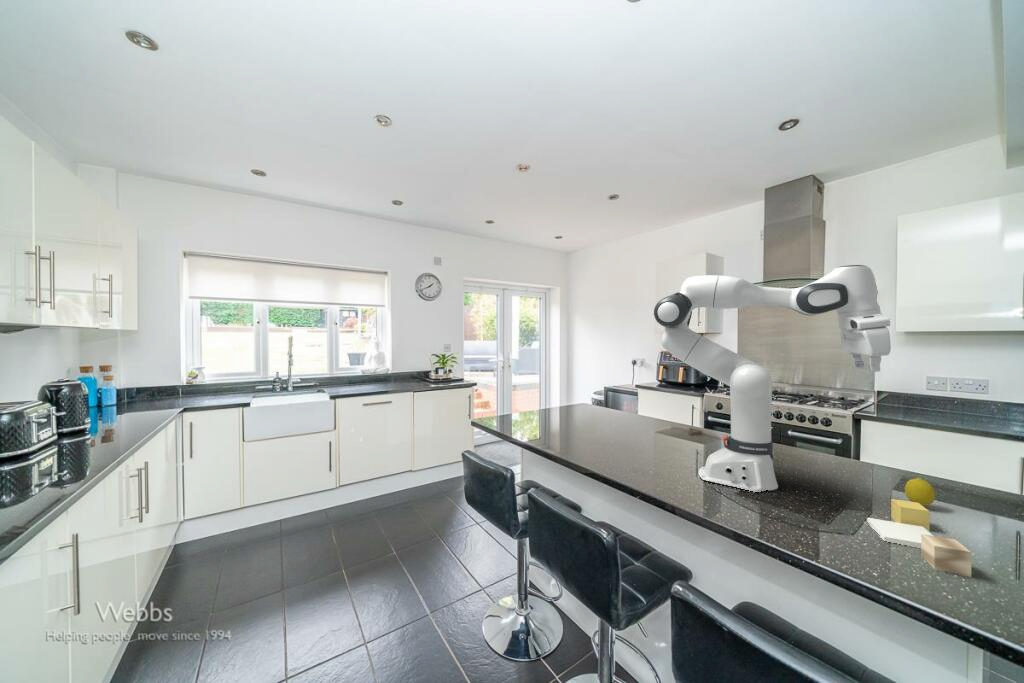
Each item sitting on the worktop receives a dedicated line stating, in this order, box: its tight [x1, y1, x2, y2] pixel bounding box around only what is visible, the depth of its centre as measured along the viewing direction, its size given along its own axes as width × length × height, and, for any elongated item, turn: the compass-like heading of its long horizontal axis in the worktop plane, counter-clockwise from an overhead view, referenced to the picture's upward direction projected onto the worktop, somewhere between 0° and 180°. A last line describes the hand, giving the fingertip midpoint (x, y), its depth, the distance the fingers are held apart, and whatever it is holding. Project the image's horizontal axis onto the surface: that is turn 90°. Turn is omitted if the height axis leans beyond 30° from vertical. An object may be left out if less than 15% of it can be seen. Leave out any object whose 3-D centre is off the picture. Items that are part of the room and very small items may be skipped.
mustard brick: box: [890, 498, 931, 532], centre depth 90 cm, size 5×5×5 cm
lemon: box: [904, 477, 936, 507], centre depth 99 cm, size 6×6×8 cm
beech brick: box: [920, 534, 972, 578], centre depth 73 cm, size 5×5×5 cm
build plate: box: [866, 517, 934, 550], centre depth 85 cm, size 10×10×1 cm
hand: (866, 369), depth 102 cm, fingers open, 8 cm apart
